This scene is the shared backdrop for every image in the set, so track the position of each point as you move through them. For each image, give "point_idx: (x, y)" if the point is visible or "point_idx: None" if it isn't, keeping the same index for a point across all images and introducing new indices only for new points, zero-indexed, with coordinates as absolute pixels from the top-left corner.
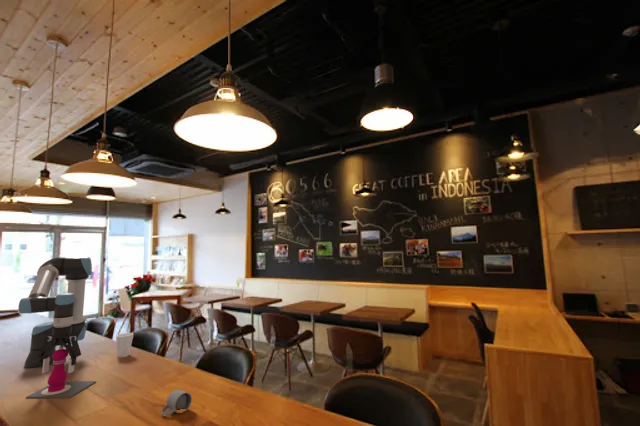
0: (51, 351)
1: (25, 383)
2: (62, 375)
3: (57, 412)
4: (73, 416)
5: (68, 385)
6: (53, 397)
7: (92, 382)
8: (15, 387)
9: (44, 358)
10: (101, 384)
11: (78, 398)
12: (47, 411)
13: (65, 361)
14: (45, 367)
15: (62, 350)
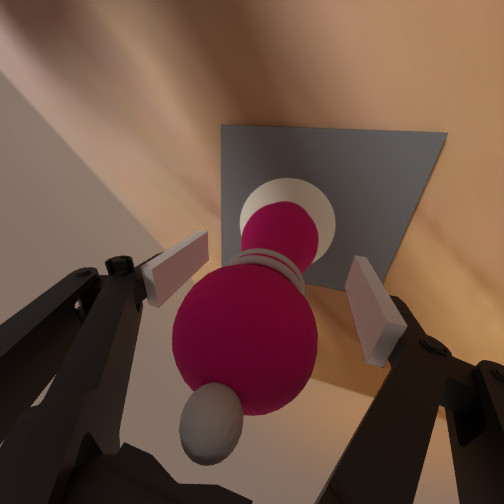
0: (124, 322)
1: (109, 126)
2: (308, 266)
3: (379, 371)
4: (440, 405)
5: (311, 190)
6: (311, 283)
7: (429, 154)
8: (114, 166)
9: (143, 297)
10: (490, 170)
11: (411, 305)
12: (346, 358)
13: (304, 288)
14: (193, 265)
15: (265, 411)
